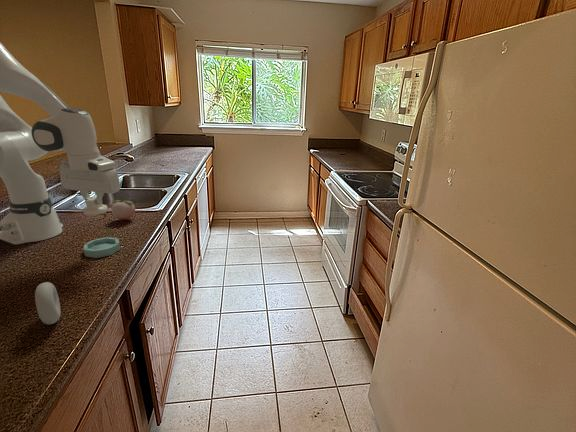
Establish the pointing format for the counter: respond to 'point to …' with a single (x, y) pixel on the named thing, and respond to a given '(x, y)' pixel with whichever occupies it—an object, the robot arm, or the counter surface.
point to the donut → (47, 303)
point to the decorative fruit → (123, 209)
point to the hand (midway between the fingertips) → (94, 203)
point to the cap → (94, 208)
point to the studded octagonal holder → (101, 247)
